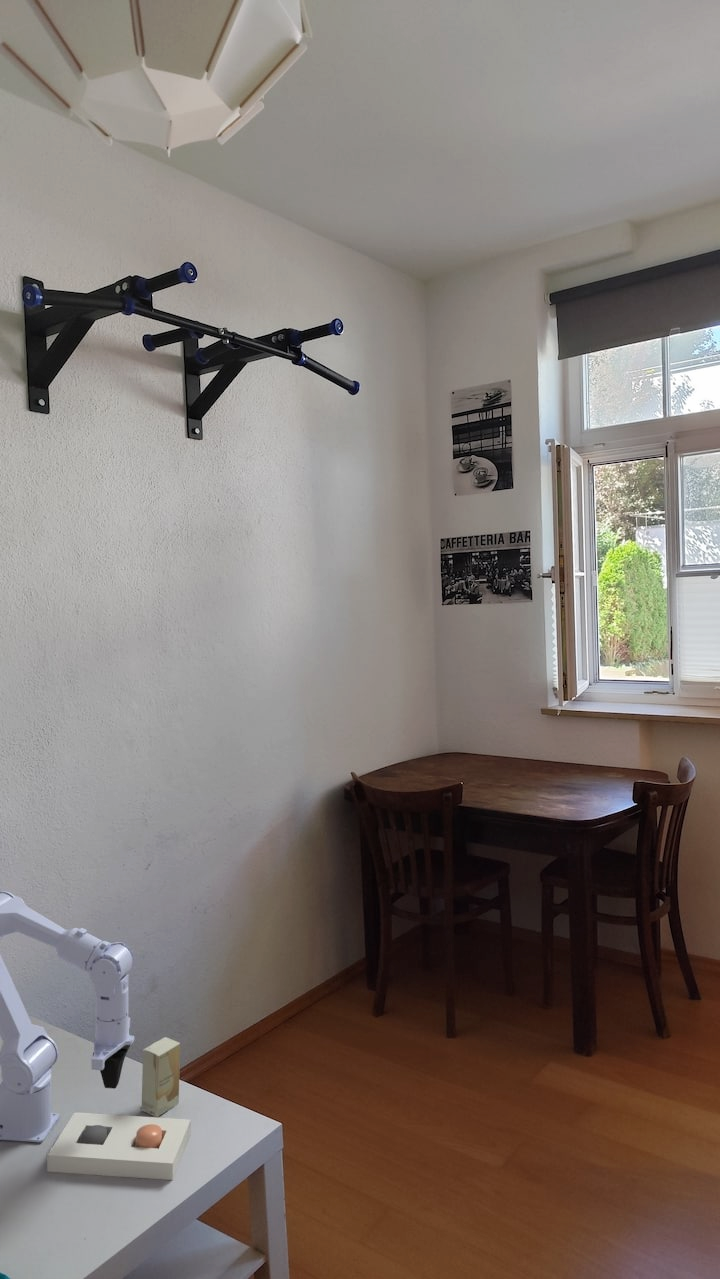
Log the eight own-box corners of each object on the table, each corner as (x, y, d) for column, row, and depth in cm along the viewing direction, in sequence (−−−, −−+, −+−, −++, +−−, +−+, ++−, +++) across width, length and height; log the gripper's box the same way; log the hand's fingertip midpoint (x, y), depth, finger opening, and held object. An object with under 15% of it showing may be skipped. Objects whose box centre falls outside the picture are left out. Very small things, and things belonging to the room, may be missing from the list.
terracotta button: (132, 1155, 151) (133, 1139, 151) (140, 1139, 155) (140, 1123, 155) (157, 1157, 150) (157, 1140, 150) (164, 1141, 155) (164, 1125, 155)
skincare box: (156, 1118, 163) (157, 1056, 162) (140, 1110, 165) (141, 1049, 165) (180, 1102, 169) (181, 1042, 168) (164, 1094, 171) (165, 1035, 170)
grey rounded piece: (77, 1156, 151) (77, 1140, 151) (86, 1140, 156) (86, 1124, 156) (101, 1157, 151) (101, 1141, 151) (110, 1141, 156) (110, 1125, 155)
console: (47, 1171, 148) (47, 1154, 148) (74, 1127, 160) (74, 1112, 160) (172, 1180, 147) (172, 1163, 146) (190, 1135, 159) (190, 1119, 158)
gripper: (120, 1036, 147) (119, 1111, 148) (146, 995, 162) (145, 1065, 163) (79, 1033, 148) (79, 1109, 149) (109, 993, 162) (109, 1062, 163)
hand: (111, 1086), depth 156 cm, fingers closed
